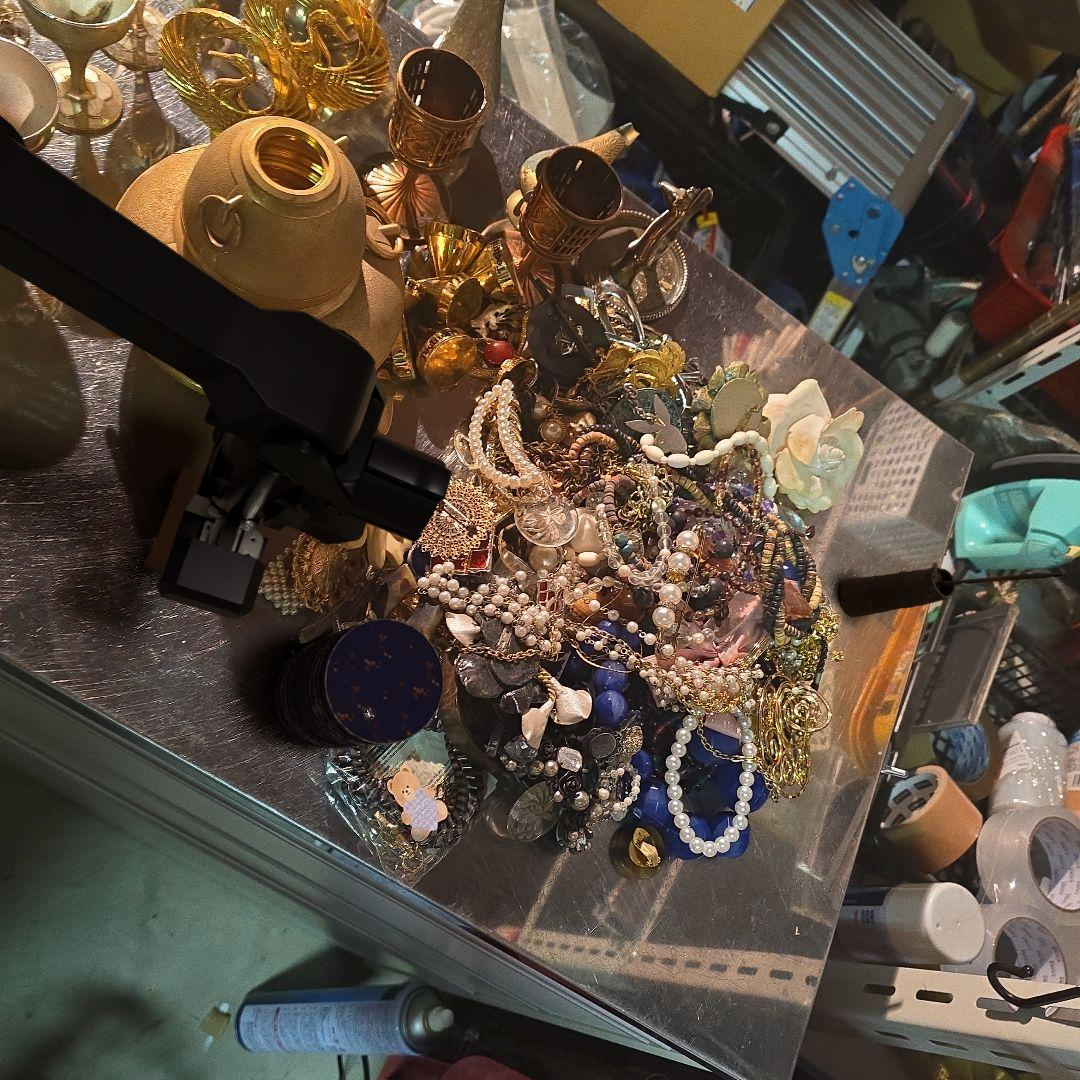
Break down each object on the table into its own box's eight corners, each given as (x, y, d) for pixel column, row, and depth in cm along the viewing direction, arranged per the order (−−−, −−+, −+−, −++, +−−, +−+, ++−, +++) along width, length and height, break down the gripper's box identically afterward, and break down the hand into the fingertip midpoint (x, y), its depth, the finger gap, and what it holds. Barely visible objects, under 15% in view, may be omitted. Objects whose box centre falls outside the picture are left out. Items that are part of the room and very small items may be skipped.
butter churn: (810, 575, 116) (1013, 527, 93) (852, 548, 121) (1054, 495, 98) (840, 639, 116) (1049, 607, 93) (880, 609, 122) (1088, 571, 98)
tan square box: (143, 567, 76) (150, 556, 72) (174, 483, 79) (183, 467, 75) (224, 593, 79) (236, 583, 75) (252, 511, 82) (265, 497, 77)
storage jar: (308, 620, 82) (361, 593, 69) (397, 671, 85) (464, 654, 73) (253, 718, 78) (299, 709, 65) (349, 768, 81) (411, 768, 68)
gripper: (348, 627, 57) (284, 653, 71) (417, 379, 64) (347, 445, 77) (172, 572, 53) (138, 610, 66) (266, 310, 59) (219, 393, 72)
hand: (220, 510), depth 70 cm, fingers closed on planter, 4 cm apart
